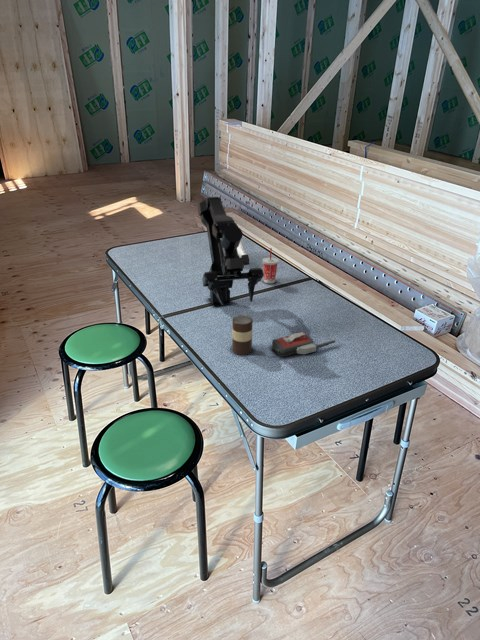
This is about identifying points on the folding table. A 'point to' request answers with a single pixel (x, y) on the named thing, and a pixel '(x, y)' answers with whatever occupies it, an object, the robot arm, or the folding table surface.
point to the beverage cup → (270, 269)
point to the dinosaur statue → (241, 250)
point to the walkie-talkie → (296, 344)
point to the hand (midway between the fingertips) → (237, 302)
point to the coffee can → (242, 334)
